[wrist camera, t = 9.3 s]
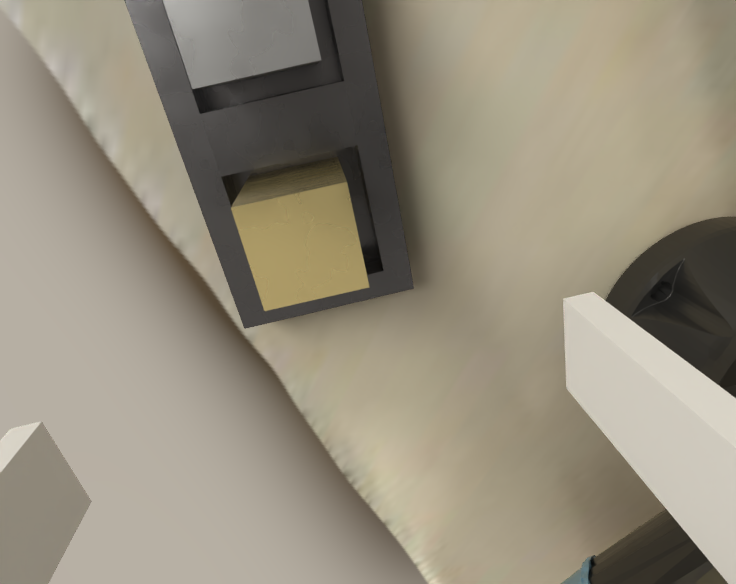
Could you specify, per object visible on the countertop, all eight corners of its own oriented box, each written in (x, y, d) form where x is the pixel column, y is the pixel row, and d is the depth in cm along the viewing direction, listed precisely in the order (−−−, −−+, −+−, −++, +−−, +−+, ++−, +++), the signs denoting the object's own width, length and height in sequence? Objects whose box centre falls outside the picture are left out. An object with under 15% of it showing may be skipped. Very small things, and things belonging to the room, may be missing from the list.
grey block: (317, 63, 24) (321, 59, 18) (222, 85, 24) (192, 89, 18) (291, -52, 22) (285, -103, 16) (186, -29, 22) (138, -71, 16)
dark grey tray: (404, 269, 30) (413, 288, 28) (250, 305, 30) (244, 328, 27) (330, -126, 22) (333, -156, 19) (114, -80, 22) (87, -102, 19)
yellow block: (355, 240, 29) (369, 287, 22) (273, 258, 28) (264, 311, 22) (337, 156, 26) (346, 182, 20) (249, 176, 26) (230, 207, 20)
